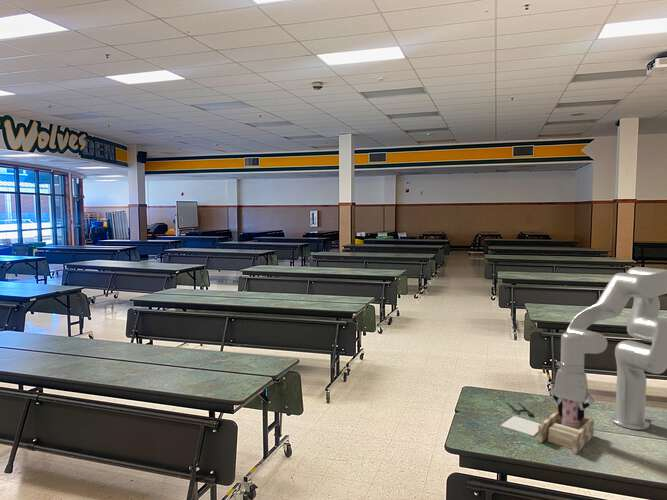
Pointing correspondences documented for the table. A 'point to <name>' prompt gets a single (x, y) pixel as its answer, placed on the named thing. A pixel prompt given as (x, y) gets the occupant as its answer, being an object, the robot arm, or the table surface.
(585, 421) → the frame
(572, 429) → the offcut upper
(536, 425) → the pad
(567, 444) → the offcut lower
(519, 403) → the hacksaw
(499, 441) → the table surface
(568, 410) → the beverage can
